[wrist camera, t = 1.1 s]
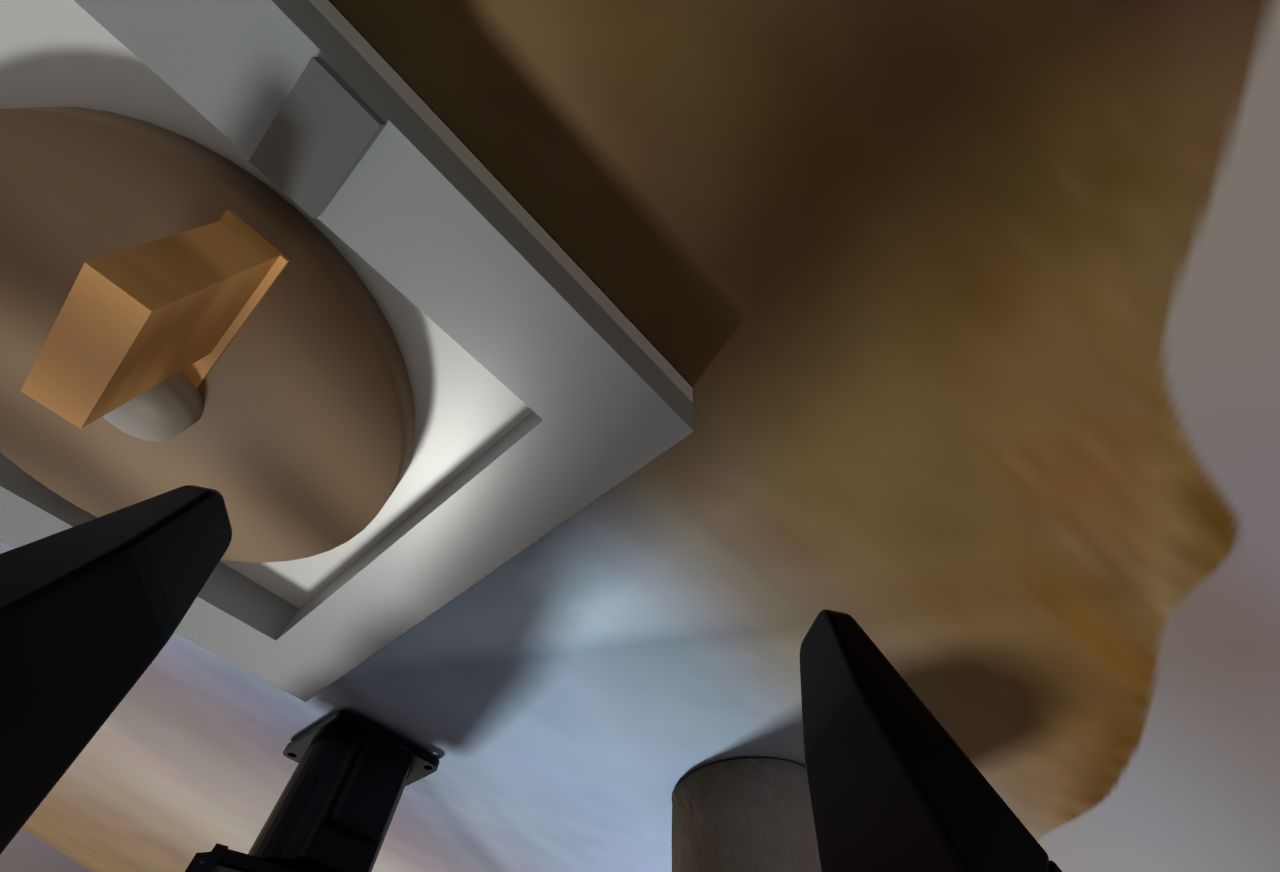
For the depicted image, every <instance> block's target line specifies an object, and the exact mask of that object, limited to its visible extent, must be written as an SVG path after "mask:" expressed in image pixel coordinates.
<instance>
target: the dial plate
mask: <svg viewBox="0 0 1280 872" xmlns="http://www.w3.org/2000/svg"><path fill="white" fill-rule="evenodd" d="M31 107H78V108H86V109H93V110H101V111H108V112H113V113H116V114H120V115H124V116H127V117H131V118H135V119H138V120H142V121H146V122H149V123H152V124H155V125H157V126H160V127H162V128H165V129H167V130H170V131H172V132H175V133H177V134H179V135H182V136H184V137H187V138H189V139H191V140H193V141H195V142H197V143H199V144H201V145H203V146H205V147H207V148H208V149H210V150H212V151H214V152H216V153H218V154H220V155H222V156H224V157H225V158H227V159H229V160H231V161H232V162H234V163H235V164H237V165H238V166H240V167H241V168H243V169H244V170H246V171H247V172H249V173H250V174H252V175H253V176H255V177H256V178H258V179H259V180H261V181H262V182H264V183H265V184H267V185H268V186H269V187H270V188H272V189H273V190H274V191H275V192H277V193H278V194H279V195H280V196H282V197H283V198H284V199H285V200H286V201H288V202H289V203H290V204H291V205H293V206H294V207H295V208H296V209H298V210H299V211H300V212H301V213H302V214H303V215H304V216H305V217H306V218H307V219H308V220H309V221H310V222H311V223H312V224H313V225H314V226H315V227H316V228H317V229H318V230H319V231H321V232H322V233H323V234H324V235H325V236H326V237H327V238H328V239H329V240H330V241H331V243H332V244H333V245H334V246H335V247H336V249H337V250H338V251H339V252H340V253H341V254H342V256H343V257H344V258H345V259H346V260H347V261H348V263H349V264H350V265H351V266H352V267H353V269H354V270H355V271H356V273H357V274H358V275H359V277H360V278H361V280H362V281H363V283H364V284H365V285H366V287H367V288H368V290H369V291H370V293H371V294H372V296H373V297H374V298H375V300H376V302H377V303H378V305H379V307H380V309H381V311H382V312H383V314H384V316H385V318H386V320H387V322H388V323H389V325H390V327H391V329H392V331H393V333H394V335H395V338H396V340H397V343H398V345H399V348H400V350H401V353H402V355H403V357H404V360H405V364H406V367H407V371H408V375H409V378H410V382H411V386H412V392H413V400H414V407H415V437H414V442H413V447H412V452H411V457H410V460H409V463H408V465H407V468H406V470H405V473H404V475H403V477H402V479H401V481H400V482H399V484H398V485H397V487H396V489H395V490H394V492H393V493H392V495H391V496H390V498H389V499H388V500H387V502H386V503H385V505H384V506H383V508H382V509H381V510H380V512H379V513H378V515H377V516H376V517H375V518H374V519H373V520H372V521H371V522H370V523H369V525H368V526H367V527H366V528H365V529H364V530H363V531H361V532H360V533H359V534H357V535H356V536H355V537H353V538H352V539H350V540H349V541H348V542H346V543H344V544H342V545H340V546H338V547H336V548H334V549H332V550H330V551H327V552H324V553H321V554H318V555H315V556H311V557H307V558H302V559H297V560H291V561H282V562H266V563H262V562H239V561H231V560H223V559H221V560H220V561H219V563H218V565H217V566H216V568H215V569H214V571H213V572H212V574H211V576H210V577H209V579H208V580H207V582H206V583H205V585H204V586H203V588H202V590H201V591H200V593H199V594H198V596H197V597H196V599H195V601H194V602H193V604H192V605H191V607H190V608H189V610H188V612H187V613H186V615H185V616H184V618H183V619H182V621H181V622H180V624H179V626H178V627H177V629H176V630H175V631H174V633H176V634H178V635H180V636H182V637H184V638H186V639H188V640H190V641H192V642H193V643H195V644H197V645H199V646H201V647H203V648H205V649H207V650H209V651H210V652H212V653H214V654H216V655H218V656H220V657H222V658H224V659H226V660H227V661H229V662H231V663H233V664H235V665H237V666H239V667H241V668H243V669H245V670H246V671H248V672H250V673H252V674H254V675H256V676H258V677H260V678H262V679H263V680H265V681H267V682H269V683H271V684H273V685H275V686H277V687H279V688H280V689H282V690H284V691H286V692H288V693H290V694H292V695H294V696H296V697H298V698H299V699H301V700H303V701H305V702H306V701H308V700H309V699H311V698H312V697H313V696H315V695H316V694H318V693H319V692H321V691H322V690H324V689H325V688H326V687H328V686H329V685H331V684H332V683H334V682H335V681H336V680H338V679H339V678H341V677H342V676H344V675H345V674H347V673H348V672H349V671H351V670H352V669H354V668H355V667H357V666H358V665H359V664H361V663H362V662H364V661H365V660H367V659H368V658H369V657H371V656H372V655H374V654H375V653H377V652H378V651H380V650H381V649H382V648H384V647H385V646H387V645H388V644H390V643H391V642H392V641H394V640H395V639H397V638H398V637H400V636H401V635H402V634H404V633H405V632H407V631H408V630H410V629H411V628H413V627H414V626H415V625H417V624H418V623H420V622H421V621H423V620H424V619H425V618H427V617H428V616H430V615H431V614H433V613H434V612H435V611H437V610H438V609H440V608H441V607H443V606H444V605H446V604H447V603H448V602H450V601H451V600H453V599H454V598H456V597H457V596H458V595H460V594H461V593H463V592H464V591H466V590H467V589H469V588H470V587H471V586H473V585H474V584H476V583H477V582H479V581H480V580H481V579H483V578H484V577H486V576H487V575H489V574H490V573H491V572H493V571H494V570H496V569H497V568H499V567H500V566H502V565H503V564H504V563H506V562H507V561H509V560H510V559H512V558H513V557H514V556H516V555H517V554H519V553H520V552H522V551H523V550H524V549H526V548H527V547H529V546H530V545H532V544H533V543H535V542H536V541H537V540H539V539H540V538H542V537H543V536H545V535H546V534H547V533H549V532H550V531H552V530H553V529H555V528H556V527H557V526H559V525H560V524H562V523H563V522H565V521H566V520H568V519H569V518H570V517H572V516H573V515H575V514H576V513H578V512H579V511H580V510H582V509H583V508H585V507H586V506H588V505H589V504H591V503H592V502H593V501H595V500H596V499H598V498H599V497H601V496H602V495H603V494H605V493H606V492H608V491H609V490H611V489H612V488H613V487H615V486H616V485H618V484H619V483H621V482H622V481H624V480H625V479H626V478H628V477H629V476H631V475H632V474H634V473H635V472H636V471H638V470H639V469H641V468H642V467H644V466H645V465H646V464H648V463H649V462H651V461H652V460H654V459H655V458H657V457H658V456H659V455H661V454H662V453H664V452H665V451H667V450H668V449H669V448H671V447H672V446H674V445H675V444H677V443H678V442H679V441H681V440H682V439H684V438H685V437H687V436H688V435H690V434H691V433H692V432H694V419H693V388H692V387H691V386H690V385H689V384H688V383H687V382H686V380H685V379H684V378H683V377H682V376H681V375H680V374H679V373H678V372H677V371H676V370H675V369H674V368H673V367H672V366H671V364H670V363H669V362H668V361H667V360H666V359H665V358H664V357H663V356H662V355H661V354H660V353H659V352H658V351H657V350H656V349H655V347H654V346H653V345H652V344H651V343H650V342H649V341H648V340H647V339H646V338H645V337H644V336H643V335H642V334H641V333H640V331H639V330H638V329H637V328H636V327H635V326H634V325H633V324H632V323H631V322H630V321H629V320H628V319H627V318H626V317H625V316H624V314H623V313H622V312H621V311H620V310H619V309H618V308H617V307H616V306H615V305H614V304H613V303H612V302H611V301H610V300H609V299H608V297H607V296H606V295H605V294H604V293H603V292H602V291H601V290H600V289H599V288H598V287H597V286H596V285H595V284H594V283H593V281H592V280H591V279H590V278H589V277H588V276H587V275H586V274H585V273H584V272H583V271H582V270H581V269H580V268H579V267H578V266H577V264H576V263H575V262H574V261H573V260H572V259H571V258H570V257H569V256H568V255H567V254H566V253H565V252H564V251H563V250H562V248H561V247H560V246H559V245H558V244H557V243H556V242H555V241H554V240H553V239H552V238H551V237H550V236H549V235H548V234H547V233H546V231H545V230H544V229H543V228H542V227H541V226H540V225H539V224H538V223H537V222H536V221H535V220H534V219H533V218H532V217H531V215H530V214H529V213H528V212H527V211H526V210H525V209H524V208H523V207H522V206H521V205H520V204H519V203H518V202H517V201H516V200H515V198H514V197H513V196H512V195H511V194H510V193H509V192H508V191H507V190H506V189H505V188H504V187H503V186H502V185H501V184H500V182H499V181H498V180H497V179H496V178H495V177H494V176H493V175H492V174H491V173H490V172H489V171H488V170H487V169H486V168H485V167H484V165H483V164H482V163H481V162H480V161H479V160H478V159H477V158H476V157H475V156H474V155H473V154H472V153H471V152H470V151H469V150H468V148H467V147H466V146H465V145H464V144H463V143H462V142H461V141H460V140H459V139H458V138H457V137H456V136H455V135H454V134H453V132H452V131H451V130H450V129H449V128H448V127H447V126H446V125H445V124H444V123H443V122H442V121H441V120H440V119H439V118H438V117H437V115H436V114H435V113H434V112H433V111H432V110H431V109H430V108H429V107H428V106H427V105H426V104H425V103H424V102H423V101H422V99H421V98H420V97H419V96H418V95H417V94H416V93H415V92H414V91H413V90H412V89H411V88H410V87H409V86H408V85H407V84H406V82H405V81H404V80H403V79H402V78H401V77H400V76H399V75H398V74H397V73H396V72H395V71H394V70H393V69H392V68H391V66H390V65H389V64H388V63H387V62H386V61H385V60H384V59H383V58H382V57H381V56H380V55H379V54H378V53H377V52H376V51H375V49H374V48H373V47H372V46H371V45H370V44H369V43H368V42H367V41H366V40H365V39H364V38H363V37H362V36H361V35H360V33H359V32H358V31H357V30H356V29H355V28H354V27H353V26H352V25H351V24H350V23H349V22H348V21H347V20H346V19H345V18H344V16H343V15H342V14H341V13H340V12H339V11H338V10H337V9H336V8H335V7H334V6H333V5H332V4H331V3H330V2H329V1H328V0H0V109H9V108H31ZM96 518H98V517H96V516H94V515H92V514H90V513H88V512H87V511H85V510H83V509H81V508H79V507H77V506H76V505H74V504H72V503H71V502H69V501H68V500H66V499H64V498H63V497H61V496H60V495H58V494H56V493H55V492H53V491H51V490H50V489H48V488H47V487H46V486H44V485H43V484H41V483H40V482H39V481H37V480H36V479H34V478H33V477H32V476H30V475H29V474H27V473H26V472H25V471H23V470H22V469H21V468H19V467H18V466H17V465H16V464H14V463H13V462H12V461H11V460H10V459H8V458H7V457H6V456H5V455H3V454H2V453H1V452H0V541H2V542H4V543H6V544H8V545H10V546H12V547H14V548H18V547H21V546H23V545H26V544H29V543H31V542H34V541H37V540H39V539H42V538H45V537H47V536H50V535H53V534H55V533H58V532H61V531H63V530H66V529H69V528H72V527H74V526H77V525H80V524H82V523H85V522H88V521H90V520H93V519H96Z"/></svg>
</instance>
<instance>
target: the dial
mask: <svg viewBox="0 0 1280 872" xmlns="http://www.w3.org/2000/svg"><path fill="white" fill-rule="evenodd" d="M414 437H415V407H414V400H413V392H412V386H411V382H410V378H409V375H408V371H407V367H406V364H405V360H404V357H403V355H402V353H401V350H400V348H399V345H398V343H397V340H396V338H395V335H394V333H393V331H392V329H391V327H390V325H389V323H388V322H387V320H386V318H385V316H384V314H383V312H382V311H381V309H380V307H379V305H378V303H377V302H376V300H375V298H374V297H373V296H372V294H371V293H370V291H369V290H368V288H367V287H366V285H365V284H364V283H363V281H362V280H361V278H360V277H359V275H358V274H357V273H356V271H355V270H354V269H353V267H352V266H351V265H350V264H349V263H348V261H347V260H346V259H345V258H344V257H343V256H342V254H341V253H340V252H339V251H338V250H337V249H336V247H335V246H334V245H333V244H332V243H331V241H330V240H329V239H328V238H327V237H326V236H325V235H324V234H323V233H322V232H321V231H319V230H318V229H317V228H316V227H315V226H314V225H313V224H312V223H311V222H310V221H309V220H308V219H307V218H306V217H305V216H304V215H303V214H302V213H301V212H300V211H299V210H298V209H296V208H295V207H294V206H293V205H291V204H290V203H289V202H288V201H286V200H285V199H284V198H283V197H282V196H280V195H279V194H278V193H277V192H275V191H274V190H273V189H272V188H270V187H269V186H268V185H267V184H265V183H264V182H262V181H261V180H259V179H258V178H256V177H255V176H253V175H252V174H250V173H249V172H247V171H246V170H244V169H243V168H241V167H240V166H238V165H237V164H235V163H234V162H232V161H231V160H229V159H227V158H225V157H224V156H222V155H220V154H218V153H216V152H214V151H212V150H210V149H208V148H207V147H205V146H203V145H201V144H199V143H197V142H195V141H193V140H191V139H189V138H187V137H184V136H182V135H179V134H177V133H175V132H172V131H170V130H167V129H165V128H162V127H160V126H157V125H155V124H152V123H149V122H146V121H142V120H138V119H135V118H131V117H127V116H124V115H120V114H116V113H113V112H108V111H101V110H93V109H86V108H78V107H31V108H9V109H0V452H1V453H2V454H3V455H5V456H6V457H7V458H8V459H10V460H11V461H12V462H13V463H14V464H16V465H17V466H18V467H19V468H21V469H22V470H23V471H25V472H26V473H27V474H29V475H30V476H32V477H33V478H34V479H36V480H37V481H39V482H40V483H41V484H43V485H44V486H46V487H47V488H48V489H50V490H51V491H53V492H55V493H56V494H58V495H60V496H61V497H63V498H64V499H66V500H68V501H69V502H71V503H72V504H74V505H76V506H77V507H79V508H81V509H83V510H85V511H87V512H88V513H90V514H92V515H94V516H96V517H101V516H104V515H106V514H109V513H112V512H114V511H117V510H120V509H122V508H125V507H128V506H130V505H133V504H136V503H138V502H141V501H144V500H147V499H149V498H152V497H155V496H157V495H160V494H163V493H165V492H168V491H171V490H173V489H176V488H179V487H182V486H186V485H194V486H200V487H205V488H210V489H215V490H217V491H219V492H220V493H221V494H222V495H223V498H224V501H225V505H226V508H227V512H228V516H229V520H230V524H231V527H232V539H231V542H230V545H229V547H228V549H227V551H226V552H225V554H224V555H223V557H222V558H221V559H223V560H231V561H239V562H262V563H266V562H282V561H291V560H297V559H302V558H307V557H311V556H315V555H318V554H321V553H324V552H327V551H330V550H332V549H334V548H336V547H338V546H340V545H342V544H344V543H346V542H348V541H349V540H350V539H352V538H353V537H355V536H356V535H357V534H359V533H360V532H361V531H363V530H364V529H365V528H366V527H367V526H368V525H369V523H370V522H371V521H372V520H373V519H374V518H375V517H376V516H377V515H378V513H379V512H380V510H381V509H382V508H383V506H384V505H385V503H386V502H387V500H388V499H389V498H390V496H391V495H392V493H393V492H394V490H395V489H396V487H397V485H398V484H399V482H400V481H401V479H402V477H403V475H404V473H405V470H406V468H407V465H408V463H409V460H410V457H411V452H412V447H413V442H414Z"/></svg>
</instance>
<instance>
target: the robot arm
mask: <svg viewBox="0 0 1280 872" xmlns="http://www.w3.org/2000/svg"><path fill="white" fill-rule="evenodd" d="M231 539H232V527H231V524H230V520H229V516H228V512H227V508H226V505H225V501H224V498H223V495H222V494H221V493H220V492H219V491H217V490H215V489H210V488H205V487H200V486H194V485H186V486H182V487H179V488H176V489H173V490H171V491H168V492H165V493H163V494H160V495H157V496H155V497H152V498H149V499H147V500H144V501H141V502H138V503H136V504H133V505H130V506H128V507H125V508H122V509H120V510H117V511H114V512H112V513H109V514H106V515H104V516H101V517H98V518H96V519H93V520H90V521H88V522H85V523H82V524H80V525H77V526H74V527H72V528H69V529H66V530H63V531H61V532H58V533H55V534H53V535H50V536H47V537H45V538H42V539H39V540H37V541H34V542H31V543H29V544H26V545H23V546H21V547H18V548H15V549H13V550H10V551H7V552H5V553H2V554H0V854H1V853H2V852H3V850H4V849H5V848H6V847H7V845H8V844H9V842H11V840H12V839H13V838H14V837H15V835H16V834H17V833H18V831H19V830H20V829H21V828H22V826H23V825H24V824H25V823H26V821H27V820H28V819H29V817H30V816H31V815H32V814H33V812H34V811H35V810H36V809H37V807H38V806H39V805H40V804H41V802H42V801H43V800H44V798H45V797H46V796H47V795H48V793H49V792H50V791H51V790H52V788H53V787H54V786H55V785H56V783H57V782H58V781H59V779H60V778H61V777H62V776H63V774H64V773H65V772H66V771H67V769H68V768H69V767H70V765H71V764H72V763H73V762H74V760H75V759H76V758H77V757H78V755H79V754H80V753H81V752H82V750H83V749H84V748H85V746H86V745H87V744H88V743H89V741H90V740H91V739H92V738H93V736H94V735H95V734H96V733H97V731H98V730H99V729H100V727H101V726H102V725H103V724H104V722H105V721H106V720H107V719H108V717H109V716H110V715H111V713H112V712H113V711H114V710H115V708H116V707H117V706H118V705H119V703H120V702H121V701H122V700H123V698H124V697H125V696H126V694H127V693H128V692H129V691H130V689H131V688H132V687H133V686H134V684H135V683H136V682H137V680H138V679H139V678H140V677H141V675H142V674H143V673H144V672H145V670H146V669H147V668H148V667H149V665H150V664H151V663H152V661H153V660H154V659H155V658H156V656H157V655H158V654H159V652H160V651H161V650H162V648H163V647H164V646H165V644H166V643H167V642H168V640H169V639H170V637H171V636H172V634H173V633H174V631H175V630H176V629H177V627H178V626H179V624H180V622H181V621H182V619H183V618H184V616H185V615H186V613H187V612H188V610H189V608H190V607H191V605H192V604H193V602H194V601H195V599H196V597H197V596H198V594H199V593H200V591H201V590H202V588H203V586H204V585H205V583H206V582H207V580H208V579H209V577H210V576H211V574H212V572H213V571H214V569H215V568H216V566H217V565H218V563H219V561H220V560H221V558H222V557H223V555H224V554H225V552H226V551H227V549H228V547H229V545H230V542H231ZM800 675H801V697H802V720H803V741H804V756H805V764H806V772H807V779H808V786H809V792H810V799H811V806H812V812H813V819H814V826H815V832H816V839H817V846H818V852H819V859H820V866H821V872H1062V871H1061V870H1060V869H1059V867H1058V866H1057V865H1056V864H1055V863H1054V862H1053V861H1049V858H1048V855H1047V853H1046V852H1045V851H1044V849H1043V848H1042V847H1041V846H1040V844H1039V843H1038V842H1037V841H1036V840H1035V838H1034V837H1033V836H1032V835H1031V834H1030V832H1029V831H1028V830H1027V829H1026V827H1025V826H1024V825H1023V824H1022V823H1021V821H1020V820H1019V819H1018V818H1017V817H1016V815H1015V814H1014V813H1013V812H1012V810H1011V809H1010V808H1009V807H1008V806H1007V804H1006V803H1005V802H1004V801H1003V800H1002V798H1001V797H1000V796H999V795H998V793H997V792H996V791H995V790H994V789H993V787H992V786H991V785H990V784H989V783H988V781H987V780H986V779H985V778H984V776H983V775H982V774H981V773H980V772H979V770H978V769H977V768H976V767H975V766H974V764H973V763H972V762H971V761H970V759H969V758H968V757H967V756H966V755H965V753H964V752H963V751H962V750H961V748H960V747H959V746H958V745H957V744H956V742H955V741H954V740H953V739H952V738H951V736H950V735H949V734H948V733H947V731H946V730H945V729H944V728H943V727H942V725H941V724H940V723H939V722H938V721H937V719H936V718H935V717H934V716H933V714H932V713H931V712H930V711H929V710H928V708H927V707H926V706H925V705H924V704H923V702H922V701H921V700H920V699H919V697H918V696H917V695H916V694H915V693H914V691H913V690H912V689H911V688H910V687H909V685H908V684H907V683H906V682H905V680H904V679H903V678H902V677H901V676H900V674H899V673H898V672H897V671H896V670H895V668H894V667H893V666H892V665H891V663H890V662H889V661H888V660H887V659H886V657H885V656H884V655H883V654H882V653H881V651H880V650H879V649H878V648H877V646H876V645H875V644H874V643H873V642H872V640H871V639H870V638H869V637H868V636H867V634H866V633H865V632H864V631H863V629H862V628H861V627H860V626H859V625H858V623H857V622H856V621H855V620H854V619H853V618H852V617H851V616H850V615H848V614H846V613H842V612H836V611H831V610H823V611H821V612H820V613H819V614H818V616H817V617H816V619H815V621H814V622H813V624H812V626H811V627H810V629H809V631H808V633H807V634H806V636H805V638H804V639H803V642H802V644H801V648H800ZM283 754H284V755H285V756H286V757H288V758H290V759H292V760H294V761H296V762H298V763H299V764H298V766H297V768H296V769H295V771H294V773H293V775H292V777H291V778H290V780H289V782H288V784H287V785H286V787H285V789H284V791H283V793H282V794H281V796H280V798H279V800H278V802H277V803H276V805H275V807H274V809H273V810H272V812H271V814H270V816H269V818H268V819H267V821H266V823H265V825H264V826H263V828H262V830H261V832H260V834H259V835H258V837H257V839H256V841H255V842H254V844H253V846H252V848H251V850H250V851H249V853H248V854H244V853H240V852H237V851H233V850H229V849H228V846H224V845H221V844H216V845H215V847H214V848H213V850H212V851H211V852H210V851H209V852H204V853H196V855H195V856H194V858H193V860H192V861H191V863H190V864H189V866H188V868H187V869H186V871H185V872H371V871H372V869H373V866H374V864H375V861H376V859H377V856H378V854H379V851H380V849H381V846H382V843H383V841H384V838H385V836H386V833H387V831H388V828H389V826H390V823H391V821H392V818H393V816H394V813H395V810H396V808H397V805H398V803H399V800H400V798H401V795H402V793H403V790H404V788H405V786H407V785H409V784H411V783H413V782H415V781H417V780H419V779H421V778H423V777H425V776H427V775H429V774H431V773H433V772H435V771H436V770H437V768H438V765H439V760H438V759H437V758H435V757H434V756H432V755H430V754H428V753H426V752H424V751H422V750H421V749H419V748H417V747H415V746H413V745H411V744H409V743H408V742H406V741H404V740H402V739H400V738H398V737H396V736H395V735H393V734H391V733H389V732H387V731H385V730H383V729H382V728H380V727H378V726H376V725H374V724H372V723H370V722H369V721H367V720H365V719H363V718H361V717H359V716H357V715H356V714H354V713H352V712H350V711H346V710H340V711H338V712H337V713H335V714H333V715H332V716H330V717H329V718H327V719H326V720H324V721H323V722H321V723H320V724H318V725H317V726H315V727H313V728H312V729H310V730H309V731H307V732H306V733H304V734H303V735H301V736H300V737H298V738H297V739H295V740H294V741H292V742H290V743H289V744H288V745H287V747H286V748H285V750H284V752H283Z"/></svg>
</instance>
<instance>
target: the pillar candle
mask: <svg viewBox="0 0 1280 872" xmlns="http://www.w3.org/2000/svg"><path fill="white" fill-rule="evenodd" d="M672 872H821V866H820V859H819V852H818V846H817V839H816V832H815V826H814V819H813V812H812V806H811V799H810V792H809V786H808V779H807V772H806V768H805V767H803V766H801V765H799V764H796V763H794V762H790V761H786V760H780V759H775V758H774V759H770V758H737V759H734V760H728V761H721V762H718V763H717V764H712V765H709V766H706V767H704V768H701V769H699V770H697V771H696V772H694V773H692V774H690V775H689V776H688V777H687V778H685V779H684V780H683V781H681V782H680V783H679V784H678V785H677V786H676V787H675V789H674V790H673V793H672Z"/></svg>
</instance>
